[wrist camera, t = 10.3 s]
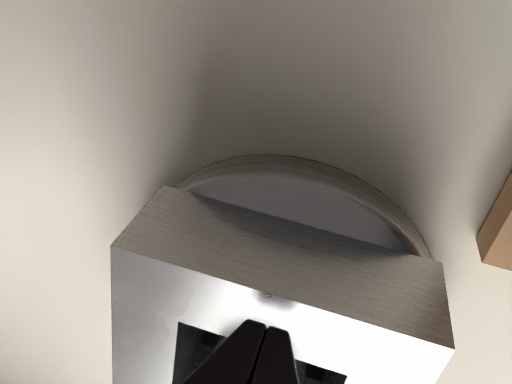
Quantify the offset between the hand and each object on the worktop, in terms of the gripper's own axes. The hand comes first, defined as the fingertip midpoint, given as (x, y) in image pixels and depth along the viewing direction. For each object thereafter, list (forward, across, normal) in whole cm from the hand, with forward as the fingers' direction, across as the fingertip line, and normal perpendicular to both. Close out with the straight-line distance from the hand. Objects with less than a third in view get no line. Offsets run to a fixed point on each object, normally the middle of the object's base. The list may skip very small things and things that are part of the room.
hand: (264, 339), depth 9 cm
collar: (+3, 0, +3) cm, 4 cm away
